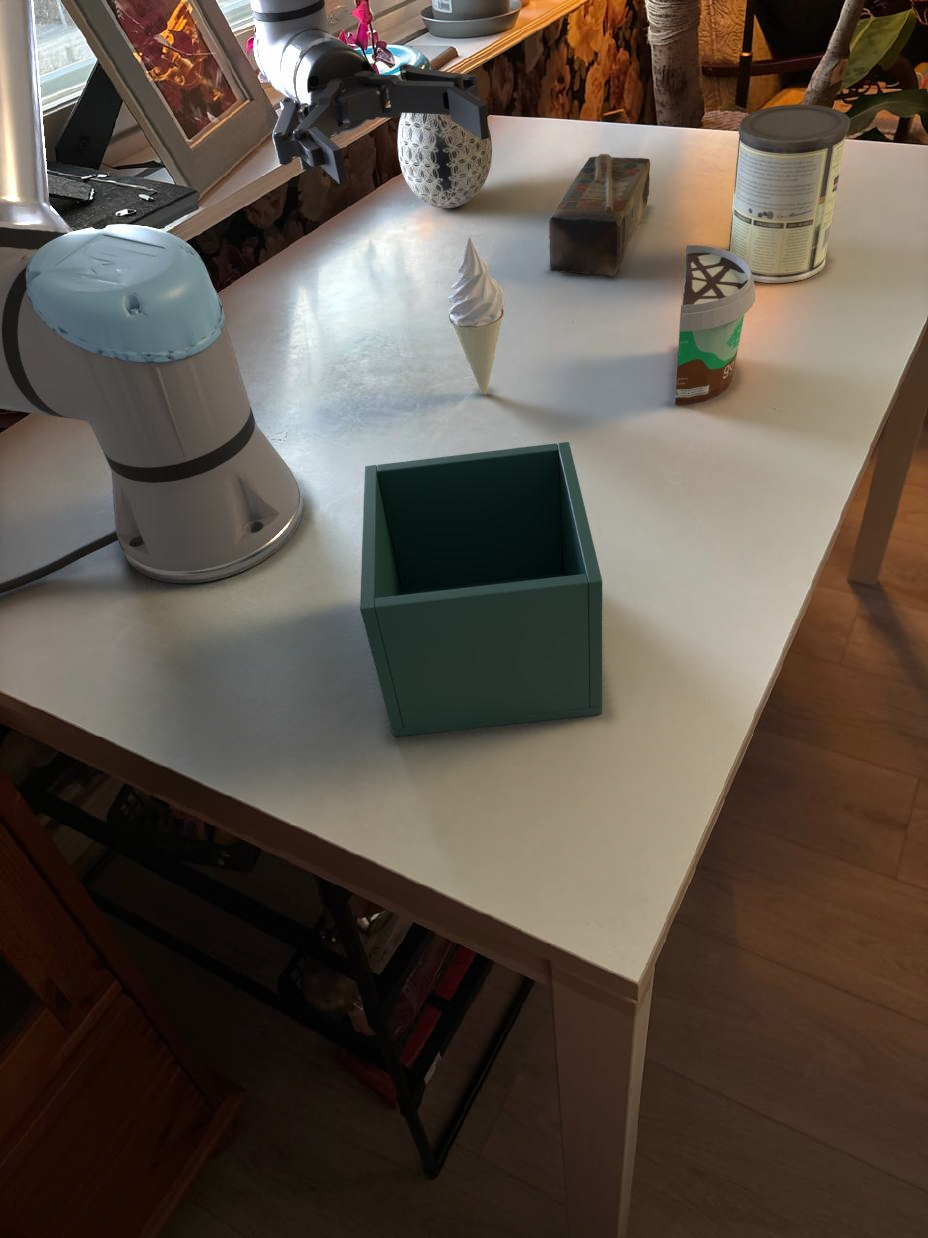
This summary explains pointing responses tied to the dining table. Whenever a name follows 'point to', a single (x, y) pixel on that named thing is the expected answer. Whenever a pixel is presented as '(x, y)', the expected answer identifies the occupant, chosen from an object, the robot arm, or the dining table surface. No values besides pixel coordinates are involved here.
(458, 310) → the ice cream cone
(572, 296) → the dining table surface
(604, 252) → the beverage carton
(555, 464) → the waste bin
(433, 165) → the decorative egg
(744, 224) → the coffee can
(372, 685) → the dining table surface
